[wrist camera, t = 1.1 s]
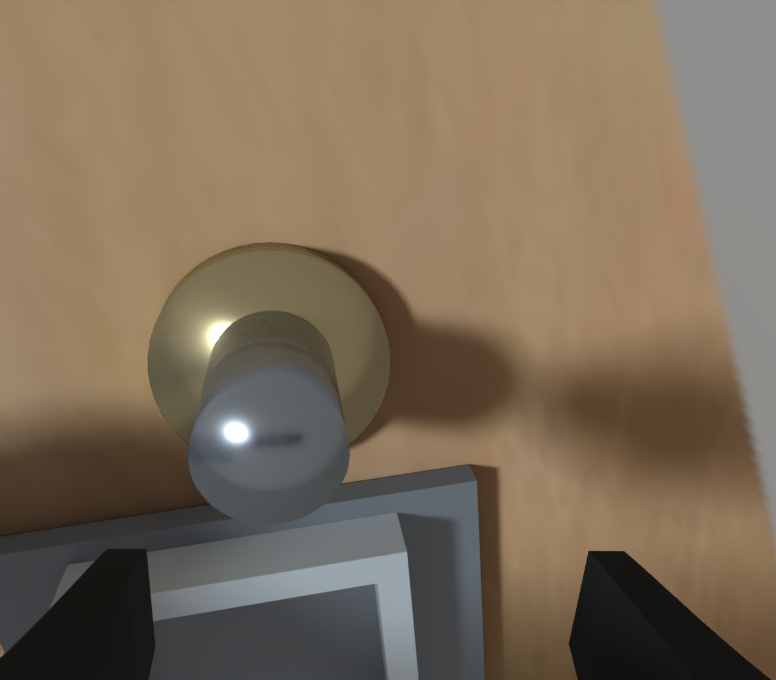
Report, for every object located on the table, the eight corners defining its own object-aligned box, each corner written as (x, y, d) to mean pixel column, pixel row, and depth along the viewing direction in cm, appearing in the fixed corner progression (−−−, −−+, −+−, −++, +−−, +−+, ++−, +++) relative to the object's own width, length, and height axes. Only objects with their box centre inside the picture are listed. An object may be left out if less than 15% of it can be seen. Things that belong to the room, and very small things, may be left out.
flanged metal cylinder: (179, 466, 22) (145, 604, 17) (131, 256, 20) (70, 334, 14) (393, 435, 23) (431, 556, 17) (374, 228, 20) (411, 291, 15)
